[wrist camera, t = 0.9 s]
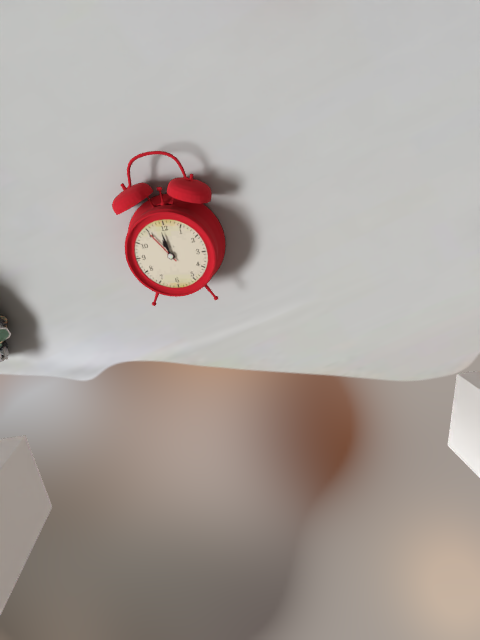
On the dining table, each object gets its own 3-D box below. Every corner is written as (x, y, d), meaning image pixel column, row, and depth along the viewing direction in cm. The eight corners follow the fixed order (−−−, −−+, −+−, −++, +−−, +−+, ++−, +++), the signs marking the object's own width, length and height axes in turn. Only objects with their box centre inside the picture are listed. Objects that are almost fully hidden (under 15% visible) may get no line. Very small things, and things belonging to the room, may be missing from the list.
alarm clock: (140, 313, 39) (75, 186, 28) (150, 276, 44) (97, 154, 33) (231, 304, 38) (201, 168, 27) (233, 267, 42) (207, 137, 32)
